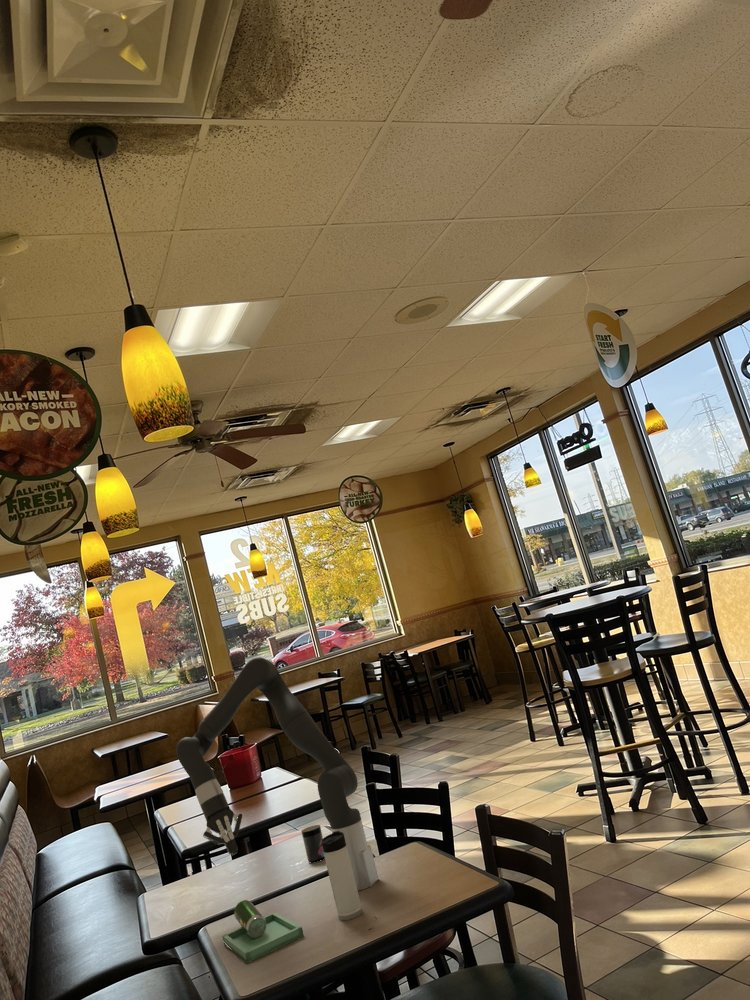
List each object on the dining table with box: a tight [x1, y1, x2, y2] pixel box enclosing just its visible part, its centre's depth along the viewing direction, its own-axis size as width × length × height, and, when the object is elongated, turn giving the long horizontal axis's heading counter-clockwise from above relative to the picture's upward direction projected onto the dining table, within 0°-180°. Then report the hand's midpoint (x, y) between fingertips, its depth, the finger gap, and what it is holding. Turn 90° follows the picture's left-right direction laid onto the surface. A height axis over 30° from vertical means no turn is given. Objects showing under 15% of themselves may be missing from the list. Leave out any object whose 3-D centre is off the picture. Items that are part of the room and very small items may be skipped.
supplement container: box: [301, 824, 325, 864], centre depth 249 cm, size 7×7×10 cm
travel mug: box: [321, 831, 363, 921], centre depth 190 cm, size 6×7×20 cm
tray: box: [221, 911, 305, 964], centre depth 187 cm, size 20×15×2 cm
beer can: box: [233, 899, 266, 938], centre depth 192 cm, size 5×5×12 cm
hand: (234, 853), depth 215 cm, fingers closed
